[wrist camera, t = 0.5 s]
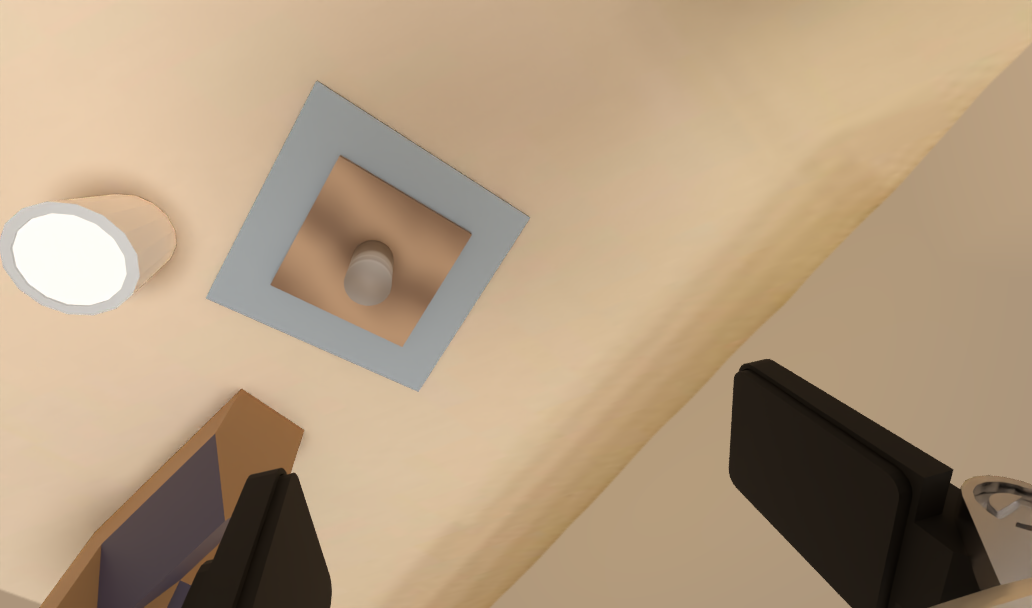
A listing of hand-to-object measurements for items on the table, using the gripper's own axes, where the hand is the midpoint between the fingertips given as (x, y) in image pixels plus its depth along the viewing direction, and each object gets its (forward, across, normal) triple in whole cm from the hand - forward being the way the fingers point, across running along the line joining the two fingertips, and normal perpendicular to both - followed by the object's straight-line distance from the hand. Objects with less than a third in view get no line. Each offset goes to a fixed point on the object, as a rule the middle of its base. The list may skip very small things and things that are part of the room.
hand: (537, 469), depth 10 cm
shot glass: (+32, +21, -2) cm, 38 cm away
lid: (+31, +5, +2) cm, 31 cm away
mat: (+31, +5, +2) cm, 32 cm away
